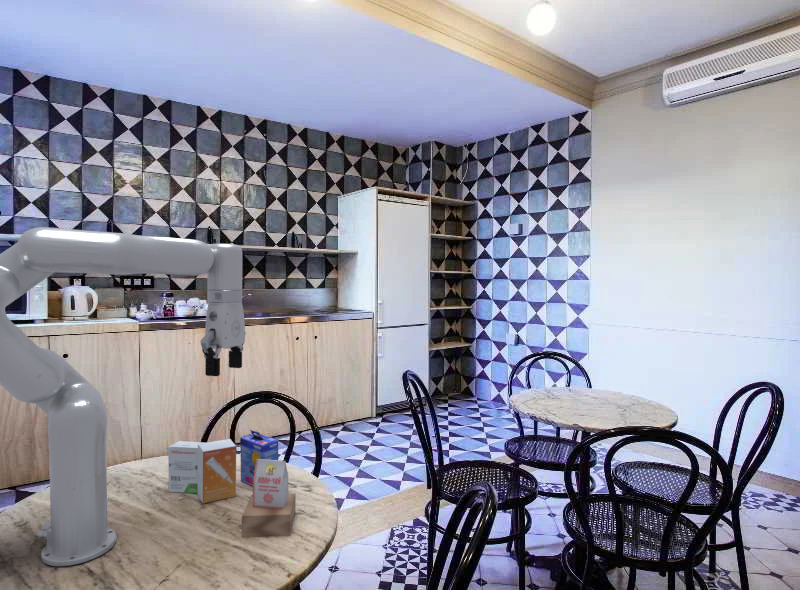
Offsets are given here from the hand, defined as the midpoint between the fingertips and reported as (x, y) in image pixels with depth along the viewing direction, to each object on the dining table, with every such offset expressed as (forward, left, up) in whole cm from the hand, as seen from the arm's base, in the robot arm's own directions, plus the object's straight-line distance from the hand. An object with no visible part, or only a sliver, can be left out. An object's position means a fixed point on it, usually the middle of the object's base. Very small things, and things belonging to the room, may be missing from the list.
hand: (224, 371), depth 113 cm
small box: (-6, +7, -33) cm, 35 cm away
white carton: (+13, -3, -29) cm, 32 cm away
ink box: (-15, +9, -33) cm, 38 cm away
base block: (+13, -3, -34) cm, 36 cm away
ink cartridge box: (+1, +16, -33) cm, 37 cm away
